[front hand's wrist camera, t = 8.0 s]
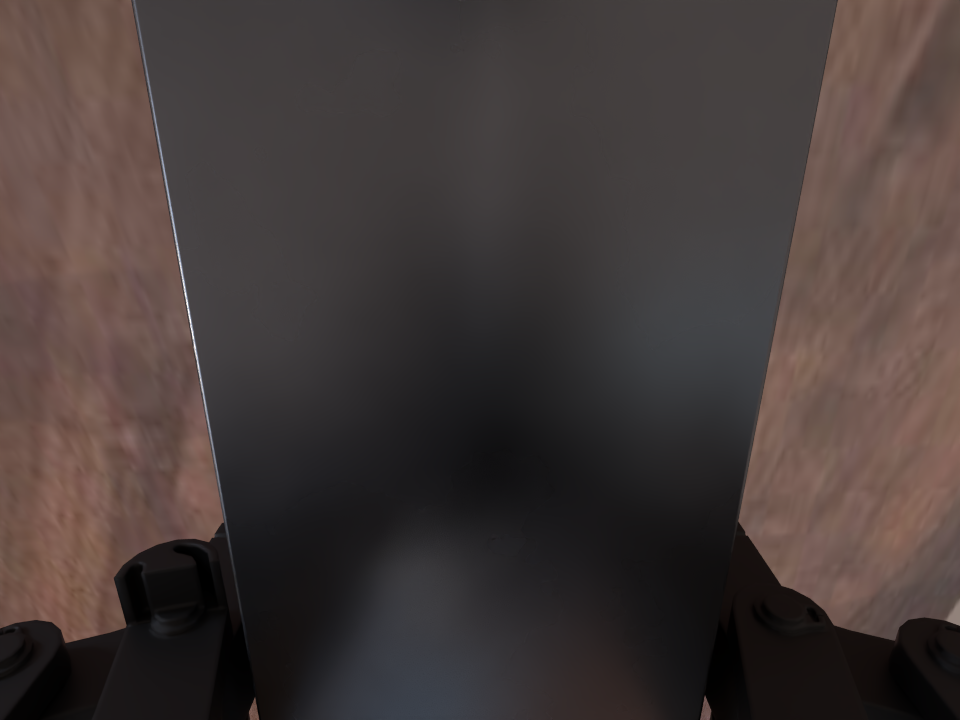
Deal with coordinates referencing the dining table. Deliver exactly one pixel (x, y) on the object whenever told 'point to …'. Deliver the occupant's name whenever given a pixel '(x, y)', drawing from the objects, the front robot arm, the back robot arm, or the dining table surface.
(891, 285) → the dining table surface
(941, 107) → the dining table surface
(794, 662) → the front robot arm
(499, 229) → the bar
